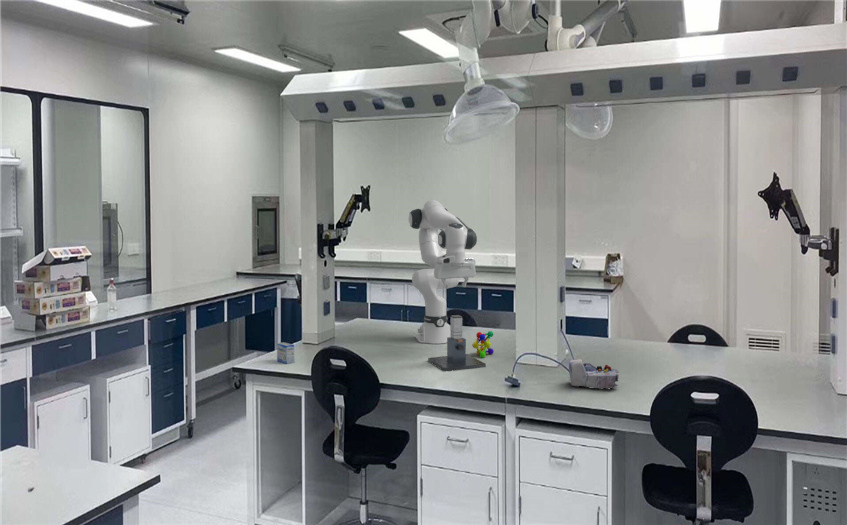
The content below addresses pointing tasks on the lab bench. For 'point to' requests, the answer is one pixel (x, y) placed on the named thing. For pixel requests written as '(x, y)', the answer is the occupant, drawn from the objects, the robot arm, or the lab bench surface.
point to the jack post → (456, 327)
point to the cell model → (592, 375)
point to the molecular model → (483, 344)
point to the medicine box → (285, 353)
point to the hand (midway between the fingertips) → (454, 287)
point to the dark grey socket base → (456, 357)
